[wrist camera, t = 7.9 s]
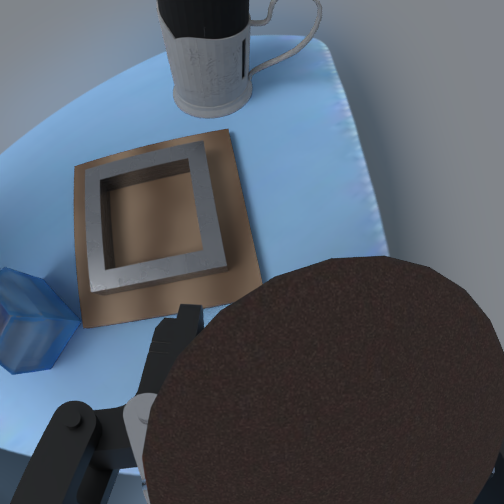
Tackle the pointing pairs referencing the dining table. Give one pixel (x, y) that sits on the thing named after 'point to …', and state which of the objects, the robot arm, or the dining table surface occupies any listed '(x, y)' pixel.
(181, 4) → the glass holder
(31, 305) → the perfume bottle
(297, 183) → the dining table surface
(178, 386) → the deodorant
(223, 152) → the locating plate
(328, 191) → the dining table surface
